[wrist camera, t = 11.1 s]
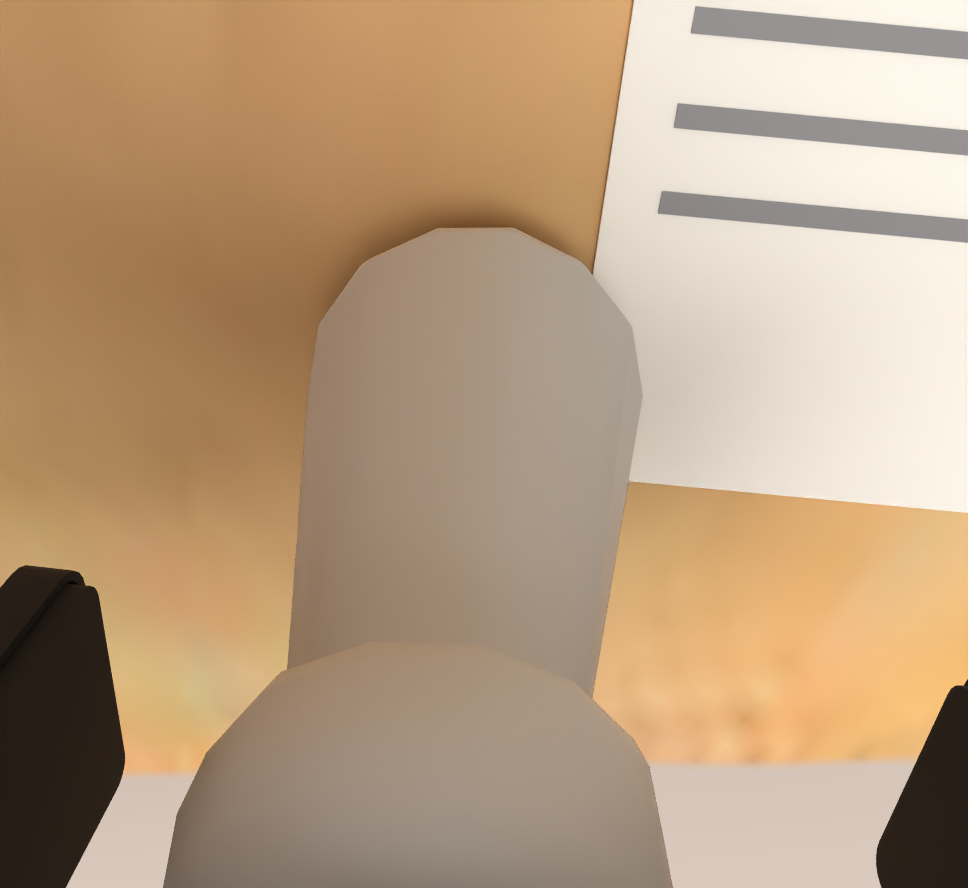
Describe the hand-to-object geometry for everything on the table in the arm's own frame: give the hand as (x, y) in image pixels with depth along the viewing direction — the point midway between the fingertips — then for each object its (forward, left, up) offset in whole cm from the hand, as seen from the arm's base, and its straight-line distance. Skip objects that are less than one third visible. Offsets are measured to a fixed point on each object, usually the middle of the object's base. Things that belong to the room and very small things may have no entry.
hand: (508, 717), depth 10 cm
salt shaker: (-1, 0, -10) cm, 10 cm away
